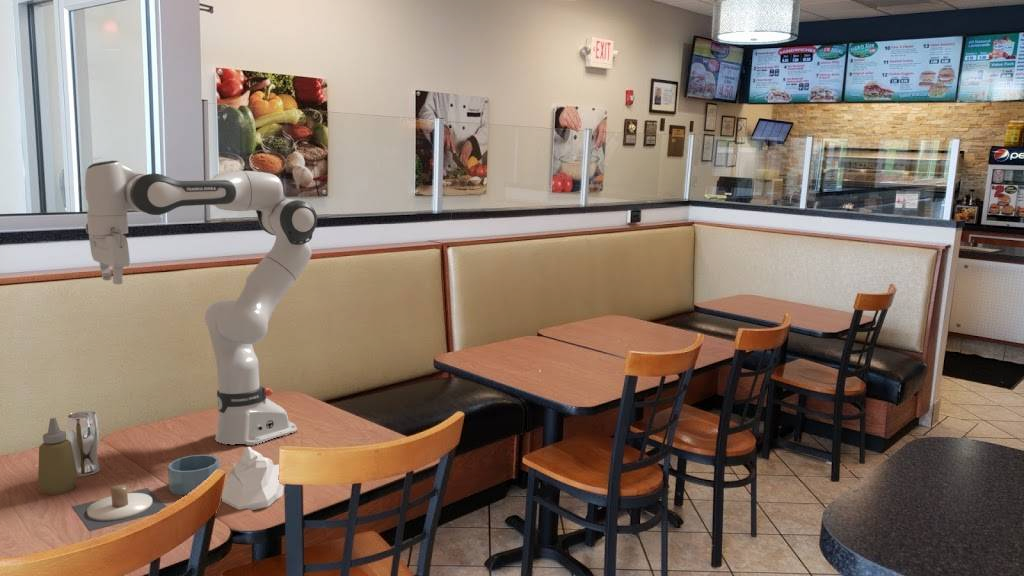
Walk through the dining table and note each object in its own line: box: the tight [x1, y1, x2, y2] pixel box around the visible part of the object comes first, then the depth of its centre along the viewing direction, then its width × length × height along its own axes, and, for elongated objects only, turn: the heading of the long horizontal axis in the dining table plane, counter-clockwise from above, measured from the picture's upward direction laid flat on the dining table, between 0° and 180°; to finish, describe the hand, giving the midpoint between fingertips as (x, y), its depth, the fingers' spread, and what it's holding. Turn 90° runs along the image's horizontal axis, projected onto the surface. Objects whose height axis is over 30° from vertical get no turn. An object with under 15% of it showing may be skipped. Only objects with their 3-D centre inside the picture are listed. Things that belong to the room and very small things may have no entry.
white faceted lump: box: [221, 446, 285, 511], centre depth 178 cm, size 12×15×14 cm
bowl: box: [167, 454, 221, 496], centre depth 186 cm, size 11×11×6 cm
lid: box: [87, 484, 153, 521], centre depth 173 cm, size 13×13×5 cm
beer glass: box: [66, 410, 101, 477], centre depth 196 cm, size 7×7×15 cm
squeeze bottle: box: [37, 417, 78, 496], centre depth 183 cm, size 8×8×18 cm
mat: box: [71, 487, 168, 532], centre depth 174 cm, size 16×16×1 cm
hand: (112, 282), depth 196 cm, fingers open, 8 cm apart
